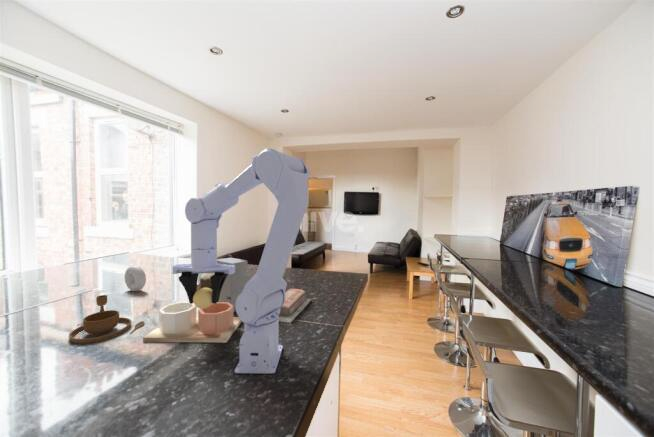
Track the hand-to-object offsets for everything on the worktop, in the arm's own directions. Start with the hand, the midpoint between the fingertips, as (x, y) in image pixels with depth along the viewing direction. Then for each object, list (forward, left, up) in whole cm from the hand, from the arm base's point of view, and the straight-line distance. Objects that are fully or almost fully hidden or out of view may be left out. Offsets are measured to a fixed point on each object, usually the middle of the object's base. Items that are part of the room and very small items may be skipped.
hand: (204, 302), depth 62 cm
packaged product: (+18, -18, -10) cm, 27 cm away
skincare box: (+19, +1, -9) cm, 21 cm away
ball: (0, 0, +1) cm, 1 cm away
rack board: (+4, +4, -9) cm, 10 cm away
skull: (+40, +17, -9) cm, 44 cm away
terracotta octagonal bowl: (+4, -1, -9) cm, 10 cm away
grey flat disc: (+34, +43, -9) cm, 55 cm away
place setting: (+6, +29, -10) cm, 31 cm away
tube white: (+4, +9, -9) cm, 13 cm away
